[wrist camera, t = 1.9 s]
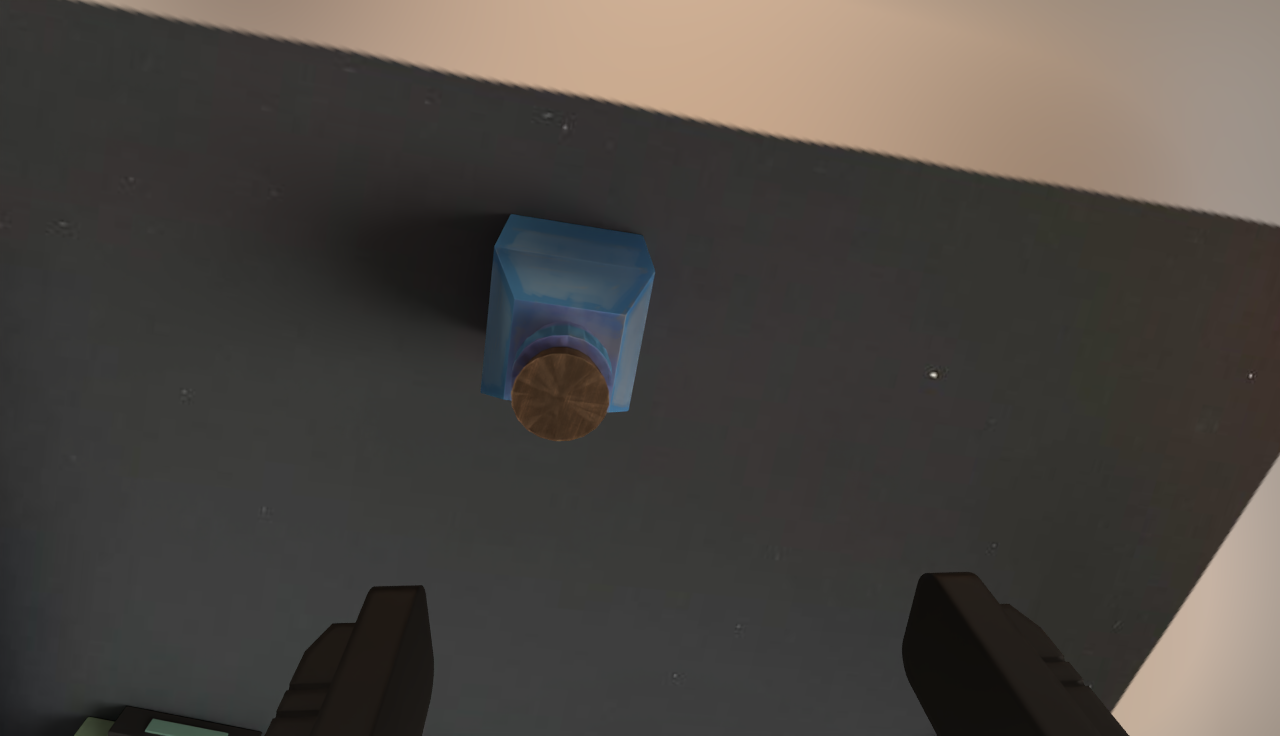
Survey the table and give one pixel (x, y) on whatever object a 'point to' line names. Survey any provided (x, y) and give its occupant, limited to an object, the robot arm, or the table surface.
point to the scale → (156, 726)
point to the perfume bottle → (565, 323)
